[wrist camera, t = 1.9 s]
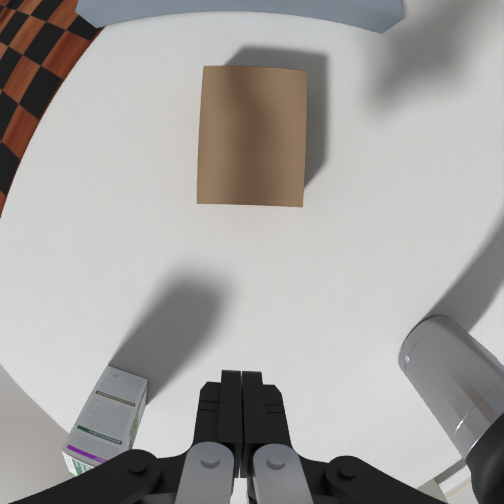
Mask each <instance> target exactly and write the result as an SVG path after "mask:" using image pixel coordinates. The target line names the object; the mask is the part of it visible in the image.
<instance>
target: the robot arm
mask: <svg viewBox="0 0 504 504" xmlns="http://www.w3.org/2000/svg"><path fill="white" fill-rule="evenodd" d="M399 366H400V368H401V370H402V371H403V372H404V374H405V375H406V377H407V378H408V379H409V381H410V382H411V383H412V385H413V386H414V388H415V389H416V391H417V392H418V393H419V395H420V396H421V397H422V399H423V400H424V402H425V403H426V405H427V406H428V407H429V409H430V410H431V412H432V413H433V414H434V416H435V417H436V419H437V420H438V422H439V423H440V425H441V426H442V428H443V429H444V430H445V432H446V433H447V435H448V436H449V438H450V439H451V441H452V442H453V444H454V445H455V447H456V448H457V450H458V451H459V453H460V454H461V456H462V457H463V459H464V461H465V462H466V464H467V466H468V467H469V469H470V471H471V482H472V489H473V492H474V494H475V497H476V499H477V501H478V503H479V504H504V365H502V364H501V363H500V362H499V361H498V359H497V358H496V357H495V356H494V355H493V354H492V353H491V352H489V351H488V350H487V349H486V348H485V347H484V346H483V345H481V344H480V343H479V342H478V341H477V340H476V339H474V338H473V337H472V336H471V335H470V334H468V333H467V332H466V331H465V330H464V329H462V328H461V327H460V326H459V325H457V324H455V323H454V322H452V321H451V320H450V319H449V318H447V317H445V316H434V317H431V318H429V319H427V320H425V321H423V322H422V323H420V324H419V325H418V326H417V327H416V328H415V329H414V330H413V331H412V332H411V333H410V334H409V336H408V337H407V339H406V340H405V342H404V344H403V346H402V348H401V351H400V354H399ZM239 467H240V478H247V493H246V499H247V504H448V503H446V502H443V501H441V500H438V499H436V498H434V497H432V496H429V495H427V494H425V493H423V492H421V491H419V490H417V489H415V488H412V487H410V486H408V485H406V484H404V483H402V482H400V481H399V480H397V479H395V478H393V477H391V476H389V475H387V474H385V473H384V472H382V471H380V470H378V469H376V468H375V467H373V466H371V465H369V464H368V463H366V462H364V461H362V460H361V459H359V458H357V457H354V456H339V457H336V458H334V459H333V460H331V461H330V462H329V463H326V462H319V461H313V460H309V459H306V458H304V457H302V456H300V455H299V454H298V453H297V452H295V450H294V449H293V447H292V445H291V440H290V435H289V430H288V425H287V420H286V414H285V409H284V406H283V399H282V394H281V392H280V391H279V390H278V389H277V387H276V386H275V385H263V381H262V373H261V372H256V371H242V375H241V371H233V370H222V376H221V383H219V382H207V383H206V384H205V385H204V386H203V387H202V389H201V390H200V396H199V403H198V411H197V417H196V424H195V431H194V439H193V443H192V445H191V447H190V448H189V449H188V450H187V451H186V452H185V453H183V454H181V455H178V456H174V457H167V458H156V457H155V456H154V455H153V454H151V453H150V452H147V451H145V450H140V449H132V450H127V451H125V452H123V453H121V454H119V455H117V456H115V457H113V458H112V459H110V460H108V461H106V462H104V463H102V464H100V465H98V466H96V467H94V468H92V469H90V470H88V471H86V472H84V473H82V474H80V475H78V476H76V477H74V478H72V479H69V480H67V481H65V482H63V483H61V484H58V485H56V486H54V487H51V488H49V489H46V490H44V491H41V492H39V493H36V494H34V495H31V496H29V497H26V498H23V499H21V500H18V501H15V502H12V503H9V504H230V497H231V495H232V493H233V487H234V478H238V475H239Z"/></svg>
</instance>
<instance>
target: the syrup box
mask: <svg viewBox="0 0 504 504" xmlns="http://www.w3.org/2000/svg"><path fill="white" fill-rule="evenodd" d="M147 387H148V380H147V379H145V378H142V377H140V376H137V375H134V374H131V373H128V372H125V371H123V370H120V369H117V368H114V367H111V366H108V365H107V367H106V368H105V370H104V372H103V373H102V375H101V377H100V378H99V380H98V382H97V383H96V385H95V387H94V389H93V391H92V392H91V394H90V396H89V398H88V400H87V401H86V403H85V405H84V407H83V409H82V411H81V413H80V415H79V417H78V418H77V420H76V422H75V424H74V426H73V428H72V430H71V432H70V434H69V437H68V438H67V440H66V442H65V444H64V446H63V448H62V453H63V455H64V458H65V461H66V464H67V466H68V468H69V471H70V474H71V475H73V476H74V477H76V476H78V475H80V474H82V473H84V472H86V471H88V470H90V469H92V468H94V467H96V466H98V465H100V464H102V463H104V462H106V461H108V460H110V459H112V458H113V457H115V456H117V455H119V454H121V453H123V452H125V451H127V450H132V447H133V443H134V440H135V437H136V434H137V431H138V427H139V425H140V422H141V418H142V415H143V412H144V409H145V405H146V395H147Z"/></svg>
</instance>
